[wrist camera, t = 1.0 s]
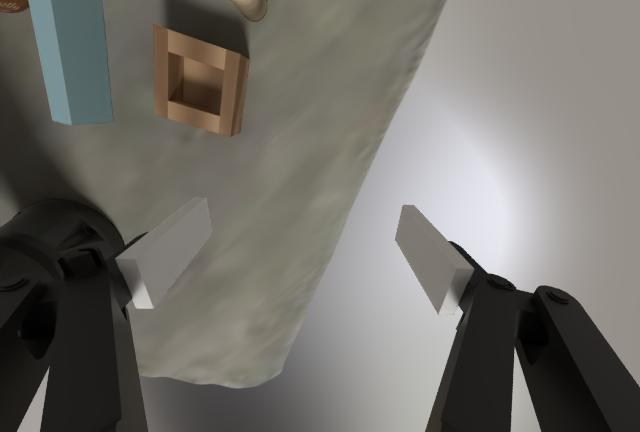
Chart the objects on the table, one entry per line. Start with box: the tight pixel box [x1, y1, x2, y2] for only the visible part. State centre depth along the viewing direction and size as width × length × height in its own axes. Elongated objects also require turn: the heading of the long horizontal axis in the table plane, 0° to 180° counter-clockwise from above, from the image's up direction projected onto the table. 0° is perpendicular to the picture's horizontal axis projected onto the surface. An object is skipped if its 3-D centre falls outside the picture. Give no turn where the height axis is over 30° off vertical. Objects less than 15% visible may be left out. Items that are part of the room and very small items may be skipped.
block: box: [153, 24, 250, 137], centre depth 28 cm, size 9×9×4 cm
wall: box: [28, 0, 113, 126], centre depth 26 cm, size 2×16×6 cm, turn 163°
